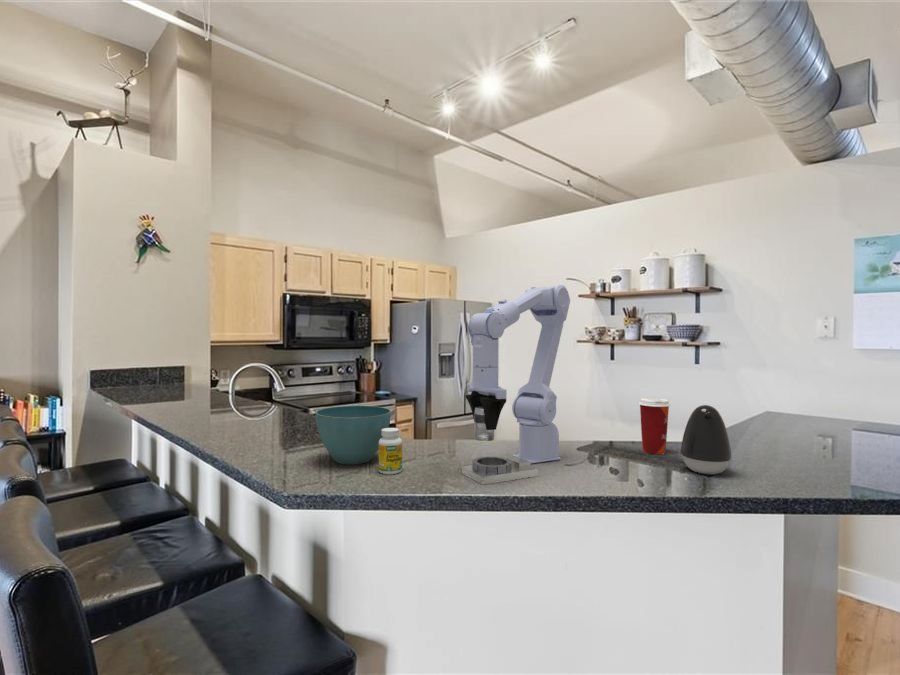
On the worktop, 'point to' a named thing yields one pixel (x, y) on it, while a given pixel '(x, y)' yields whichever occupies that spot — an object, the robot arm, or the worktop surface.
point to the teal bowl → (352, 431)
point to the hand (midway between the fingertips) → (485, 427)
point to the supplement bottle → (390, 451)
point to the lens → (481, 426)
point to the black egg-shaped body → (706, 442)
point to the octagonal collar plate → (499, 469)
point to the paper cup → (654, 424)
